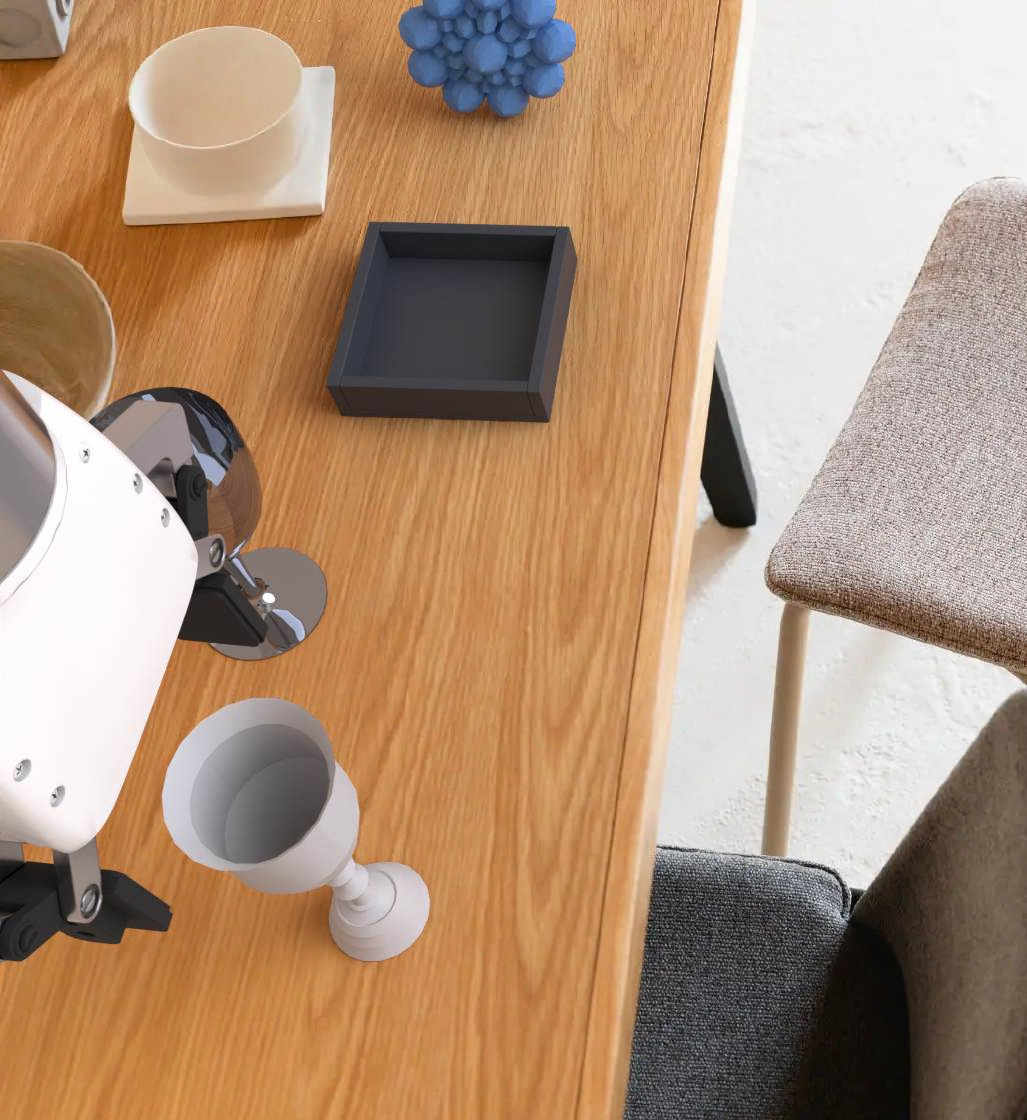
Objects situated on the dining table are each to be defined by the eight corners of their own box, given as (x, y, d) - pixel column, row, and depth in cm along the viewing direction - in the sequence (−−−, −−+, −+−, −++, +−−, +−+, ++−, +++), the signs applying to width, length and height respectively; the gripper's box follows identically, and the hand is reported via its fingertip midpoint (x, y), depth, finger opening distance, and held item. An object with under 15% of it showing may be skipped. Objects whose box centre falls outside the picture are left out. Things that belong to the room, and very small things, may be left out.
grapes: (601, 70, 104) (571, -79, 93) (587, 142, 100) (555, -5, 90) (434, 66, 104) (386, -83, 94) (416, 137, 101) (364, -9, 90)
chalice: (450, 971, 73) (335, 855, 58) (310, 995, 73) (156, 885, 57) (445, 830, 77) (335, 684, 61) (311, 851, 76) (166, 710, 61)
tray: (341, 416, 90) (324, 385, 87) (382, 254, 96) (368, 220, 93) (549, 422, 89) (539, 392, 86) (578, 259, 95) (569, 225, 93)
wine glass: (267, 692, 81) (151, 556, 68) (160, 624, 83) (27, 479, 70) (364, 581, 84) (271, 431, 71) (258, 518, 86) (149, 361, 73)
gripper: (-130, 181, 38) (154, 528, 52) (-508, 843, 29) (-42, 1031, 44) (157, 203, 37) (362, 547, 52) (-143, 883, 29) (203, 1059, 44)
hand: (176, 769), depth 48 cm, fingers open, 9 cm apart
